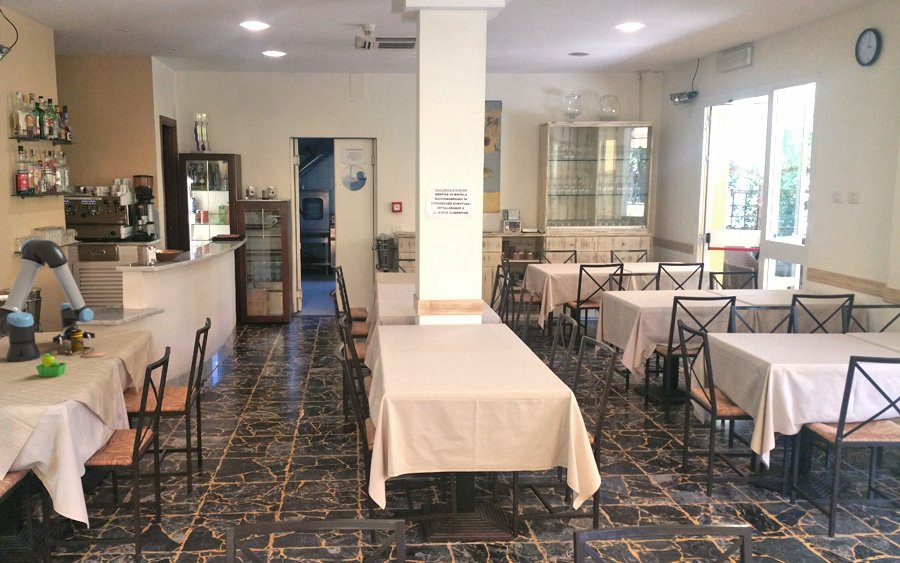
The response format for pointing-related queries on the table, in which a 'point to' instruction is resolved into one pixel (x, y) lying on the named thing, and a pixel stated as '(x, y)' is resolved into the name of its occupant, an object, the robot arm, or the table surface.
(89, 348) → the dark brown openwork trivet
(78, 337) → the condiment
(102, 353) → the serving plate
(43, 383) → the table surface
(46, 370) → the fruit basket
